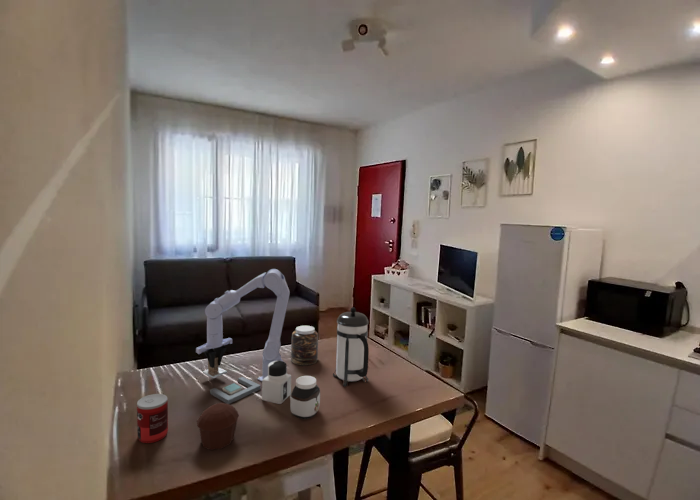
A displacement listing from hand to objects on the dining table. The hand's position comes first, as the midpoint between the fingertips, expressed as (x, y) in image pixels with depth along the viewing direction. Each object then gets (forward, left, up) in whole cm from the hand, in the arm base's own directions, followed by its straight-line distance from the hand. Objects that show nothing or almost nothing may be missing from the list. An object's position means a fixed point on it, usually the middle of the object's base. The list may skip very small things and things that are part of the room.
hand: (215, 365), depth 138 cm
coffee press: (-41, -36, -6) cm, 55 cm away
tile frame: (-12, 0, -6) cm, 14 cm away
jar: (-13, -37, -6) cm, 40 cm away
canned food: (-17, +31, -6) cm, 36 cm away
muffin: (-33, +20, -6) cm, 39 cm away
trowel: (0, 0, -3) cm, 3 cm away
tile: (-11, 0, -6) cm, 13 cm away
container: (-28, -7, -6) cm, 29 cm away
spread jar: (-41, -7, -6) cm, 42 cm away
